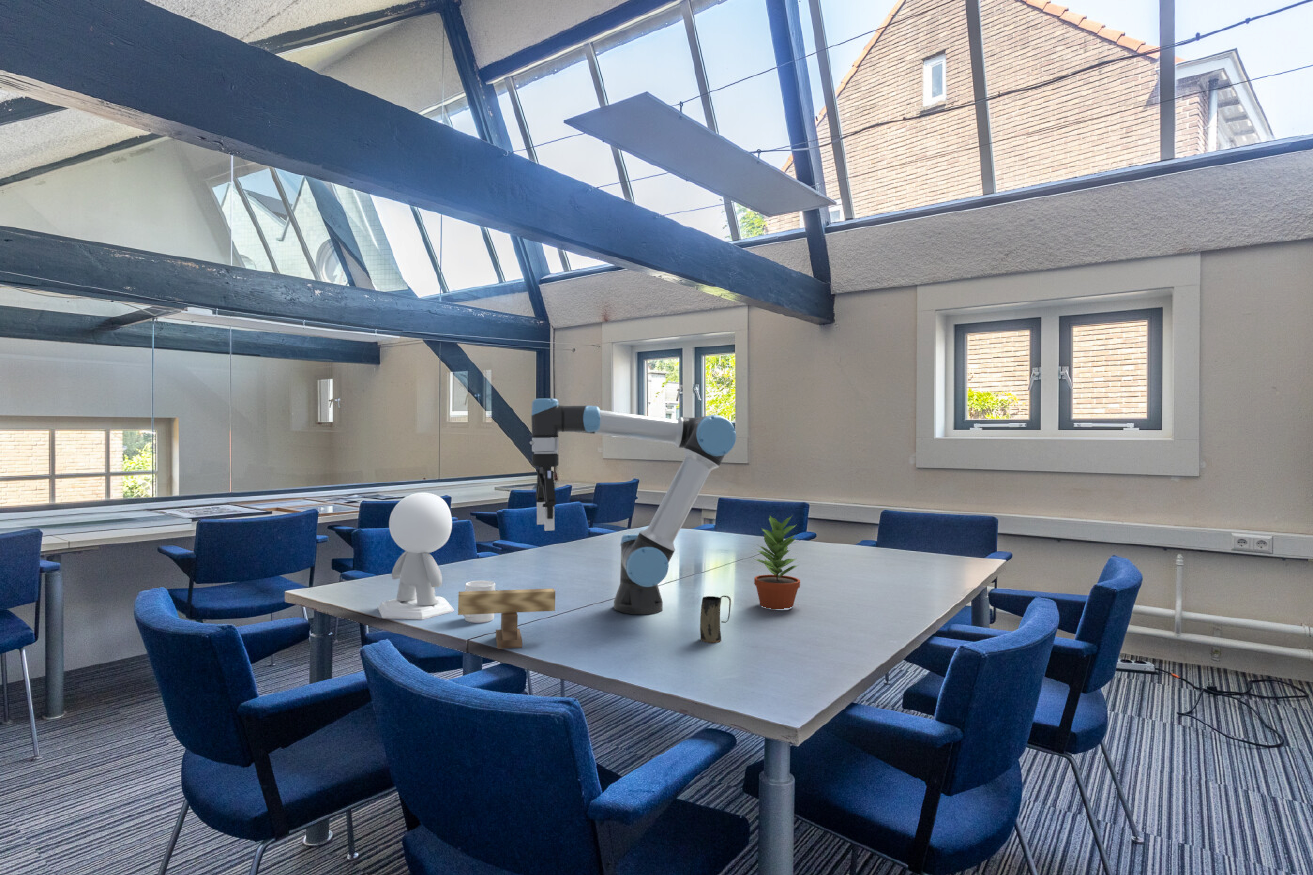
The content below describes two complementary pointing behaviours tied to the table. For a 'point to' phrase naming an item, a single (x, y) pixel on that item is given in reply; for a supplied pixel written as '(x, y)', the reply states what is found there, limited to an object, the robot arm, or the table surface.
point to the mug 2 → (711, 619)
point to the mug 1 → (479, 587)
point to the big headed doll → (418, 557)
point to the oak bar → (506, 601)
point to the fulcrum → (508, 632)
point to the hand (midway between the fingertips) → (545, 527)
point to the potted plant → (777, 569)
